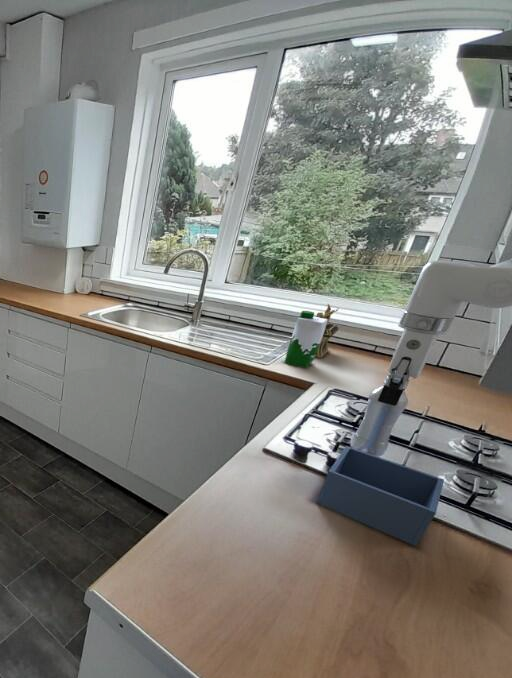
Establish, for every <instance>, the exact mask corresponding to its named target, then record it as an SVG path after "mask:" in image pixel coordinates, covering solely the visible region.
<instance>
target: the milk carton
mask: <svg viewBox="0 0 512 678" xmlns="http://www.w3.org/2000/svg"><path fill="white" fill-rule="evenodd" d="M314 315H315V312H313V311H309V310H302V311H301V312H300V314H299V316H298V318H297V320H296V321H295V322H296V323H295V326H294V328H293V331H292V335H291V338H290V341H289V344H288V347H287V350H286V355H285V360H284V363H285V364H289V365H292V366H297V367H300V368H304V369H306V368H308V367H309V366H310V365H311V364H312V362H313V360H314V359H315V358H316V357H315V355H316V353H317V351H318V348H319V345H320V342H321V340H322V337H323V334H324V331H325V327H326V324H327V320H328V319H323V318H319V317H316V316H314Z"/></svg>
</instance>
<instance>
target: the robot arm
mask: <svg viewBox="0 0 512 678" xmlns="http://www.w3.org/2000/svg"><path fill="white" fill-rule="evenodd" d="M410 294H411V295H410V297H409V299H408V301H407V304H406V306H405V309H404V311H403V313H402V316H401V317H400V320H399V323H398V324H397V326H398V327H399V328H401V329H403V331H402V332H401V333H402V334H401V335H400V337H399V340H398V343H397V345H396V347H395V349H394V352H393V355H392V358H391V360H390V364H389V367H388V370H387V371H388V373H389V375H390V377H389V379H388V381H387V383H386V385H385V384H383V386H384V387H383V389H382V392H381V394H380V396H379V398H378V401H379V402H382V403H386V404H389V405H393V406H396V405H397V403H398V401H399V399H400V397H401V395H402V393H403V390H404V391H405V390H406V389H403V387H404V385H405V383H406V380H407V379H409V380H410V377H411V378H412V379H413V380H417V379H418V378H420V377H419V376H420V375H421V373H422V371H423V369H424V367H425V365H426V363H427V361H428V359H429V357H430V355H431V352H432V351H433V349H434V347H435V344H436V341H437V339H438V336H439V335H446V334H447V333H448V331H449V329H450V327H451V325H452V323H453V321H454V319H455V317H456V315H457V313H458V311H459V309H460V307H461V305H462V303H466V304H471V305H475V306H479V307H484V308H490V309H503V308H509V307H512V259H508V260H505V261H501V262H499V263H495V264H492V265H490V266H476V265H474V264H472V263H469V262H463V261H454V260H431V261H429V262H427V263H426V264H425V265H423V268H422V270H421V271H420V274H419V276H418V279H417V280H416V283H415V285H414V287H413V290H412V292H411V293H410ZM393 376H394V377H393ZM402 378H404V379H402Z"/></svg>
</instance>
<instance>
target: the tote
mask: <svg viewBox="0 0 512 678" xmlns="http://www.w3.org/2000/svg"><path fill="white" fill-rule="evenodd" d="M444 483H445V478H441V477H439V476H435V475H433V474H430V473H427V472H424V471H421V470H418V469H415V468H412V467H409V466H407V465H404V464H400V463H398V462H395V461H391V460H389V459H386V458H383V457H381V456H380V457H377V456H375V455H372V454H369V453H366V452H363V451H360V450H357V449H354V448H351V446H348V445H346V446H345V447H344V449H343V450H342V452H341V453H340V455H339V456H338V457H337V459H336V460H335V462H333V464H332V466H331V467H330V468H329V471H328V473H327V474H326V476H325V479H324V482H323V484H322V486H321V489H320V491H319V493H318V496H317V498H316V500H315V503H316V504H318V505H321V506H323V507H325V508H328V509H330V510H332V511H334V512H336V513H339V514H340V515H343V516H345V517H348V518H350V519H353V520H354V521H357V522H359V523H361V524H364V525H366V526H368V527H371V528H373V529H375V530H377V531H380V532H382V533H384V534H386V535H389V536H391V537H393V538H395V539H398V540H400V541H402V542H405V543H407V544H409V545H411V546H414V547H417V546H418V544H419V542H420V541H421V539H422V538H423V536H424V534H425V533H426V531H427V529H428V527H429V526H430V524H431V522H432V520H433V519H434V517H435V516H436V514H437V511H438V506H439V501H440V498H441V495H442V490H443V486H444Z"/></svg>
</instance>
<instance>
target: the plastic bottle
mask: <svg viewBox="0 0 512 678" xmlns="http://www.w3.org/2000/svg"><path fill="white" fill-rule="evenodd" d="M390 375H391V374H388V375H387V376H386V378H385V380H384V381H383V385H382V386H380V387H377V388H375V389H374V390H373V391H371V393H370V394H369V396H368V400H367V405H366V410H365V413H364V416H363V418H362V421H361V423H360V425H359V426H358V427H357V430H356V431H355V432H354V434H353V435H352V436H351V438H350V442H349V447H351V448H354V449H357V450H360V451H363V452H366V453H369V454H372V455H375V456H377V457H380V458H381V457H382V456H383V455H384V454H385V453H386V452H387V450H388V446H389V440H390V437H391V433H392V430H393V428H394V426H395V425H396V422H397V421H398V419H399V417H400V416H401V415H402V413H403V412H404V411H405V409H406V407H407V406H408V404H409V399H408V395H407V393H406V391H405V390H406V389H407V388H408V384H409V383H410V378H409V379H407V380H406V383H405V385H404V387H403V389H405V390H403V393H402V395H401V397H400V399H399V401H398V403H397V405H396V406H393V405H389V404H386V403H382V402H379V401H378V398H379V396H380V394H381V392H382V389H383V387H384V385H386V383H387V381H388V379H389V377H390ZM393 377H394V376H393ZM402 379H404V378H402Z"/></svg>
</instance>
